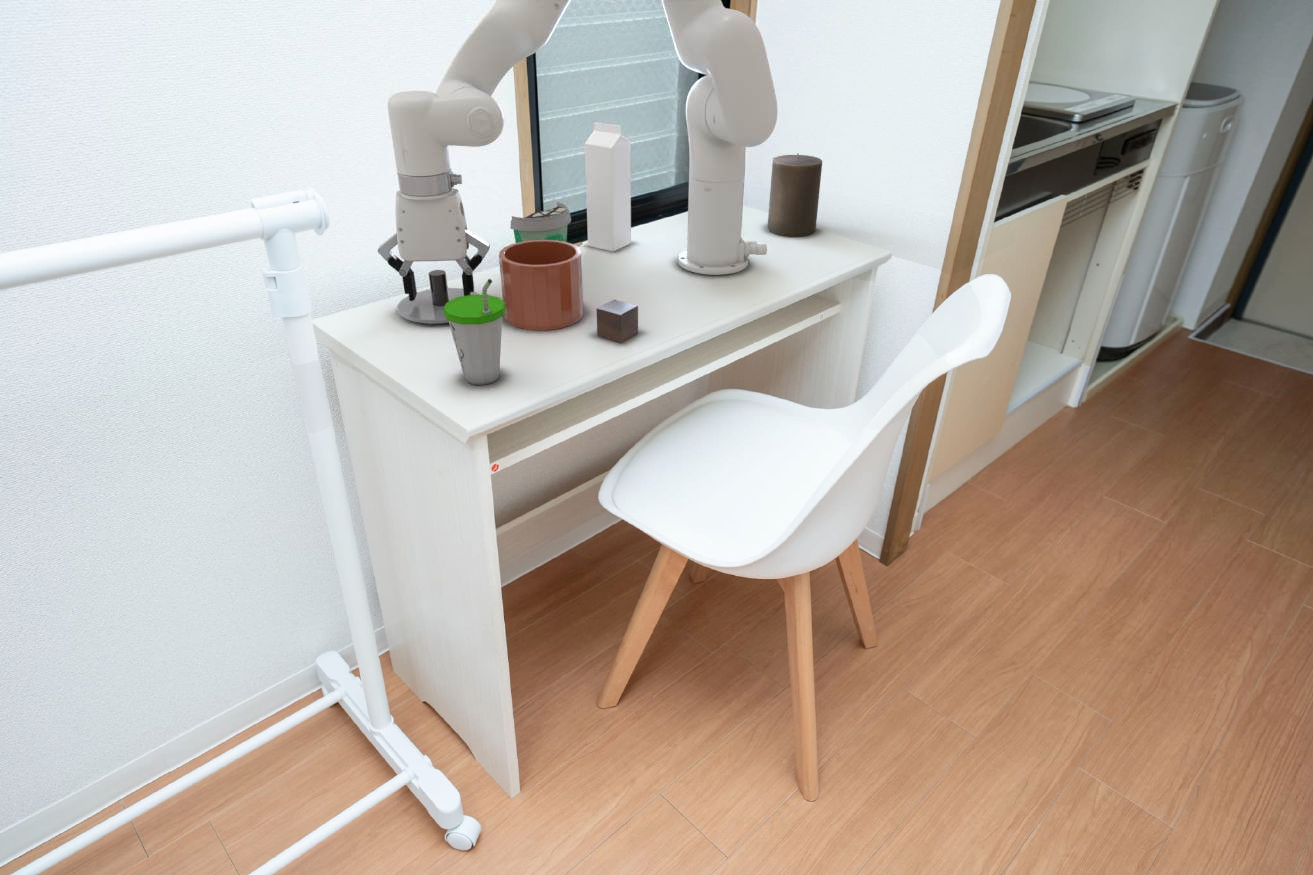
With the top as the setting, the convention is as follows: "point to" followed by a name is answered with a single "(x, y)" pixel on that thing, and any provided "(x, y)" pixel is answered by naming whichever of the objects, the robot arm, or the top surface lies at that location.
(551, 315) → the canister
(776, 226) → the pillar candle
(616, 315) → the block
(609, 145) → the milk
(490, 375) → the cup
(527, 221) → the food container
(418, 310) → the lid
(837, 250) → the top surface
